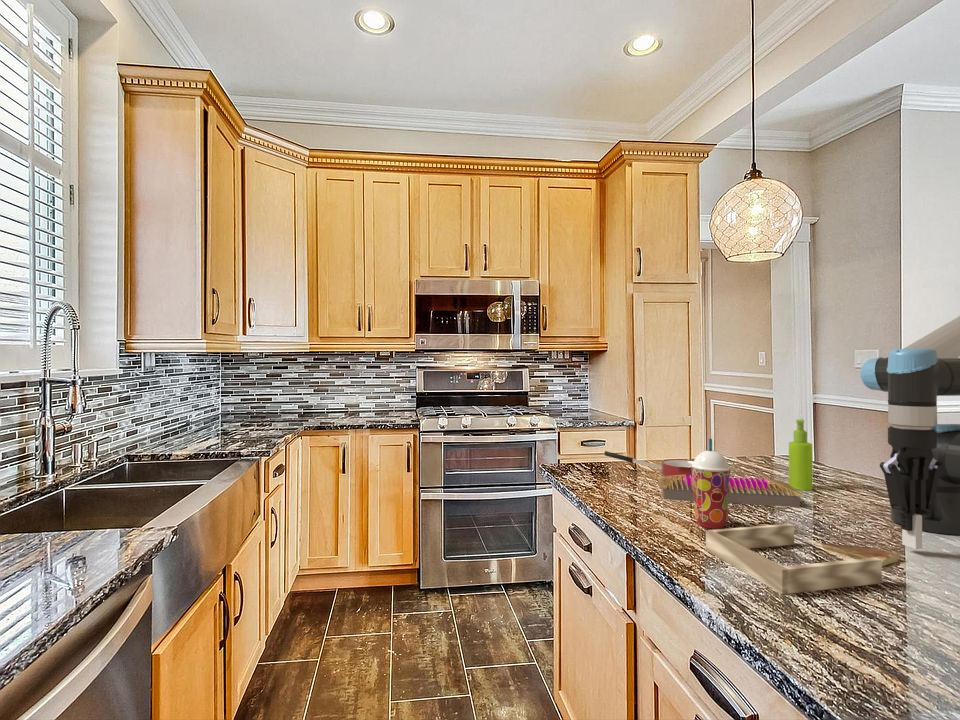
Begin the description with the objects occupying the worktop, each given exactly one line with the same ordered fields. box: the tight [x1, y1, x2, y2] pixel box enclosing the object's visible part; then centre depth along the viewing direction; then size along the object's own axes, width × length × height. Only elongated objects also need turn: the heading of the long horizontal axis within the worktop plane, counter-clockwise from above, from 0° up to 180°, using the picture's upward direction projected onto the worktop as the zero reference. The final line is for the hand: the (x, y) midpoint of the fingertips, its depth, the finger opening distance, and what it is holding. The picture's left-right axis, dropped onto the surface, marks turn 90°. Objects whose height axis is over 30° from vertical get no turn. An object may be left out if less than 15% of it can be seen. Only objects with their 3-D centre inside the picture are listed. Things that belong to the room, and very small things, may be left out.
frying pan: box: [603, 450, 695, 480], centre depth 176 cm, size 32×13×6 cm, turn 68°
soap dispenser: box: [788, 418, 813, 491], centre depth 156 cm, size 6×7×20 cm
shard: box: [820, 542, 901, 567], centre depth 104 cm, size 11×8×2 cm
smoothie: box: [691, 438, 732, 530], centre depth 123 cm, size 8×8×20 cm
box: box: [705, 522, 883, 595], centre depth 99 cm, size 20×20×4 cm
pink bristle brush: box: [656, 475, 805, 508], centre depth 147 cm, size 35×14×6 cm, turn 74°
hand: (912, 546), depth 104 cm, fingers closed
